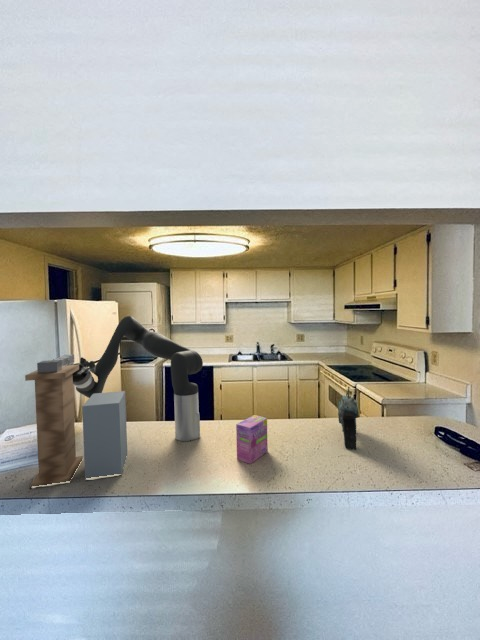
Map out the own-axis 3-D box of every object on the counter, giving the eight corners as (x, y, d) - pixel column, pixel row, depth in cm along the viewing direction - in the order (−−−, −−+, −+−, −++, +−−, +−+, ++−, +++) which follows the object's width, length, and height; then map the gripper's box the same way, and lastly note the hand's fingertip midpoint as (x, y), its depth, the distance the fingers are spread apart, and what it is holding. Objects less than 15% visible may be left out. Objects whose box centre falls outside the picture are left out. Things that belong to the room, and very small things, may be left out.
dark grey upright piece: (360, 452, 101) (359, 393, 101) (339, 450, 103) (338, 392, 102) (353, 429, 120) (353, 379, 120) (336, 428, 122) (336, 379, 122)
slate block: (127, 454, 104) (125, 391, 103) (121, 475, 90) (119, 402, 90) (95, 458, 101) (93, 393, 101) (85, 481, 88) (82, 406, 87)
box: (250, 464, 95) (249, 427, 95) (236, 459, 99) (235, 423, 98) (268, 451, 103) (267, 417, 103) (254, 447, 107) (253, 414, 106)
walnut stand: (82, 460, 100) (78, 364, 99) (69, 483, 87) (65, 372, 86) (49, 464, 98) (44, 366, 97) (30, 489, 84) (25, 375, 83)
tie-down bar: (61, 362, 105) (61, 353, 105) (77, 361, 107) (77, 352, 107) (37, 373, 86) (37, 363, 85) (57, 372, 87) (56, 361, 87)
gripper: (61, 368, 118) (46, 351, 104) (100, 365, 121) (91, 349, 108) (58, 387, 115) (42, 372, 101) (99, 383, 118) (89, 369, 104)
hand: (67, 360), depth 104 cm, fingers open, 8 cm apart
